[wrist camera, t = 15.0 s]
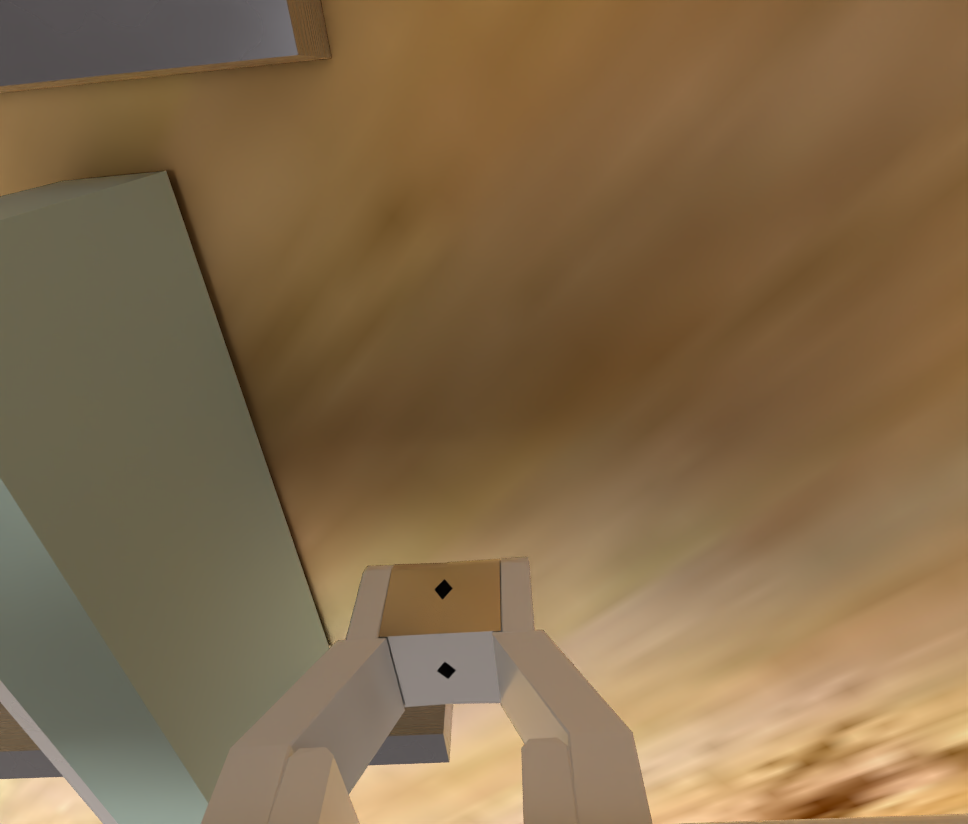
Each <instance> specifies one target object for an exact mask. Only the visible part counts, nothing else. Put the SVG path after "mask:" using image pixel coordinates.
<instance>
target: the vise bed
mask: <svg viewBox="0 0 968 824" xmlns="http://www.w3.org/2000/svg"><path fill="white" fill-rule="evenodd" d="M330 58H331V54H330V48H329V43H328V38H327V32H326V27H325V22H324V17H323V11H322V6H321V1H320V0H0V93H6V92H15V91H25V90H35V89H44V88H54V87H63V86H73V85H82V84H92V83H101V82H111V81H120V80H130V79H139V78H149V77H158V76H168V75H177V74H187V73H196V72H206V71H215V70H225V69H234V68H244V67H253V66H263V65H272V64H282V63H291V62H301V61H310V60H320V59H330ZM404 709H405V711H404V712H403V714H402V715H401V717H400V718H399V720H398V721H397V723H396V724H395V726H394V727H393V729H392V730H391V732H390V733H389V735H388V736H387V738H386V739H385V741H384V742H383V744H382V745H381V747H380V748H379V750H378V751H377V753H376V754H375V756H374V757H373V759H372V760H371V762H370V763H369V765H388V764H414V763H441V762H449V760H450V743H451V727H452V710H453V704H441V705H427V706H414V707H404ZM40 777H63V776H62V774H61V773H60V772H59V771H58V770H57V768H56V767H55V766H54V765H53V764H52V763H51V761H50V760H49V759H48V758H47V757H46V756H45V754H44V753H43V752H42V751H41V750H40V748H39V747H38V746H37V745H36V744H35V743H34V741H33V740H32V739H31V738H30V737H29V735H28V734H27V733H26V732H25V731H24V730H23V728H22V727H21V726H20V725H19V724H18V722H17V721H16V720H15V719H14V718H13V717H12V715H11V714H10V713H9V712H8V711H7V709H6V708H5V707H4V706H3V705H2V704H1V702H0V779H14V778H40Z"/></svg>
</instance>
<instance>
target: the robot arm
mask: <svg viewBox="0 0 968 824" xmlns="http://www.w3.org/2000/svg"><path fill="white" fill-rule="evenodd" d="M462 703H501V706H502V708H503V709H504V711H505V713H506V714H507V716H508V718H509V719H510V721H511V722H512V724H513V726H514V727H515V729H516V731H517V732H518V734H519V736H520V737H521V739H522V740H523V742H524V745H523V747H522V748H521V753H522V785H523V817H524V824H652V819H651V815H650V810H649V805H648V801H647V796H646V792H645V787H644V782H643V778H642V773H641V769H640V764H639V759H638V755H637V750H636V746H635V741H634V737H633V732H632V731H631V730H630V729H629V728H628V727H627V726H626V724H625V723H624V722H623V721H622V720H621V719H620V718H619V716H618V715H617V714H616V713H615V712H614V711H613V709H612V708H611V707H610V706H609V705H608V704H607V703H606V701H605V700H604V699H603V698H602V697H601V696H600V695H599V693H598V692H597V691H596V690H595V689H594V688H593V687H592V685H591V684H590V683H589V682H588V681H587V680H586V679H585V677H584V676H583V675H582V674H581V673H580V672H579V671H578V669H577V668H576V667H575V666H574V665H573V664H572V662H571V661H570V660H569V659H568V658H567V657H566V656H565V654H564V653H563V652H562V651H561V650H560V649H559V648H558V646H557V645H556V644H555V643H554V642H553V641H552V640H551V638H550V637H549V636H548V635H547V634H546V633H545V632H544V630H535V627H534V614H533V602H532V590H531V577H530V565H529V559H528V557H515V558H501V560H500V559H487V560H472V561H457V562H447V563H420V564H394V565H377V566H367V567H366V569H365V570H364V572H363V574H362V578H361V582H360V586H359V590H358V594H357V598H356V602H355V605H354V609H353V613H352V617H351V621H350V625H349V629H348V633H347V636H346V640H339V641H337V642H336V643H335V644H334V645H333V646H332V647H331V648H330V649H329V650H328V651H327V652H326V653H325V654H324V655H323V656H322V657H321V658H320V659H319V660H318V661H317V662H316V663H315V664H314V665H313V666H312V667H311V668H310V669H309V670H308V671H307V672H306V673H305V674H304V675H303V676H302V677H301V678H300V679H299V680H298V681H297V682H296V683H295V684H294V685H293V686H292V687H291V688H290V689H289V690H288V691H287V692H286V693H285V694H284V695H283V696H282V697H281V698H280V699H279V700H278V701H277V702H276V703H275V704H274V705H273V706H272V707H271V708H270V709H269V710H268V711H267V712H266V713H265V714H264V715H263V716H262V717H261V718H260V719H259V720H258V721H257V722H256V723H255V724H254V725H253V726H252V727H251V728H250V729H249V730H248V731H247V732H246V733H245V734H244V735H243V736H242V737H241V738H240V739H239V740H238V741H237V742H236V743H235V744H234V745H233V746H232V747H231V748H230V750H229V753H228V755H227V758H226V760H225V763H224V765H223V768H222V771H221V773H220V776H219V778H218V781H217V783H216V786H215V788H214V791H213V794H212V796H211V799H210V801H209V804H208V806H207V809H206V812H205V814H204V817H203V819H202V822H201V824H360V823H359V820H358V818H357V815H356V813H355V810H354V808H353V805H352V802H351V800H350V797H349V793H350V792H351V790H352V789H353V787H354V786H355V784H356V783H357V781H358V780H359V778H360V777H361V775H362V774H363V772H364V771H365V769H366V768H367V766H368V765H369V763H370V762H371V760H372V759H373V757H374V756H375V754H376V753H377V751H378V750H379V748H380V747H381V745H382V744H383V742H384V741H385V739H386V738H387V736H388V735H389V733H390V732H391V730H392V729H393V727H394V726H395V724H396V723H397V721H398V720H399V718H400V717H401V715H402V714H403V712H404V711H405V709H404V707H414V706H427V705H441V704H462ZM681 824H968V814H945V815H916V816H887V817H857V818H828V819H798V820H769V821H740V822H710V823H681Z"/></svg>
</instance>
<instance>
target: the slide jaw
mask: <svg viewBox="0 0 968 824" xmlns="http://www.w3.org/2000/svg"><path fill="white" fill-rule="evenodd" d="M329 649H330V648H329V645H328V642H327V639H326V637H325V634H324V631H323V628H322V625H321V622H320V619H319V616H318V613H317V610H316V607H315V604H314V601H313V599H312V596H311V593H310V590H309V587H308V584H307V581H306V578H305V575H304V572H303V569H302V566H301V563H300V561H299V558H298V555H297V552H296V549H295V546H294V543H293V540H292V537H291V534H290V531H289V528H288V525H287V523H286V520H285V517H284V514H283V511H282V508H281V505H280V502H279V499H278V496H277V493H276V490H275V487H274V485H273V482H272V479H271V476H270V473H269V470H268V467H267V464H266V461H265V458H264V455H263V452H262V449H261V447H260V444H259V441H258V438H257V435H256V432H255V429H254V426H253V423H252V420H251V417H250V414H249V412H248V409H247V406H246V403H245V400H244V397H243V394H242V391H241V388H240V385H239V382H238V379H237V376H236V374H235V371H234V368H233V365H232V362H231V359H230V356H229V353H228V350H227V347H226V344H225V341H224V338H223V336H222V333H221V330H220V327H219V324H218V321H217V318H216V315H215V312H214V309H213V306H212V303H211V300H210V298H209V295H208V292H207V289H206V286H205V283H204V280H203V277H202V274H201V271H200V268H199V265H198V262H197V260H196V257H195V254H194V251H193V248H192V245H191V242H190V239H189V236H188V233H187V230H186V227H185V224H184V222H183V219H182V216H181V213H180V210H179V207H178V204H177V201H176V198H175V195H174V192H173V189H172V186H171V184H170V181H169V178H168V175H167V172H166V171H160V172H150V173H139V174H129V175H118V176H108V177H97V178H87V179H77V180H66V181H60V182H56V183H52V184H48V185H44V186H40V187H36V188H32V189H28V190H24V191H20V192H16V193H12V194H8V195H4V196H0V702H1V704H2V705H3V706H4V707H5V708H6V709H7V711H8V712H9V713H10V714H11V715H12V717H13V718H14V719H15V720H16V721H17V722H18V724H19V725H20V726H21V727H22V728H23V730H24V731H25V732H26V733H27V734H28V735H29V737H30V738H31V739H32V740H33V741H34V743H35V744H36V745H37V746H38V747H39V748H40V750H41V751H42V752H43V753H44V754H45V756H46V757H47V758H48V759H49V760H50V761H51V763H52V764H53V765H54V766H55V767H56V768H57V770H58V771H59V772H60V773H61V774H62V776H63V777H64V778H65V779H66V780H67V781H68V783H69V784H70V785H71V786H72V787H73V789H74V790H75V791H76V792H77V793H78V794H79V796H80V797H81V798H82V799H83V800H84V802H85V803H86V804H87V805H88V806H89V807H90V809H91V810H92V811H93V812H94V813H95V815H96V816H97V817H98V818H99V819H100V820H101V822H102V823H103V824H201V822H202V819H203V817H204V814H205V812H206V809H207V806H208V804H209V801H210V799H211V796H212V794H213V791H214V788H215V786H216V783H217V781H218V778H219V776H220V773H221V771H222V768H223V765H224V763H225V760H226V758H227V755H228V753H229V750H230V748H231V747H232V746H233V745H234V744H235V743H236V742H237V741H238V740H239V739H240V738H241V737H242V736H243V735H244V734H245V733H246V732H247V731H248V730H249V729H250V728H251V727H252V726H253V725H254V724H255V723H256V722H257V721H258V720H259V719H260V718H261V717H262V716H263V715H264V714H265V713H266V712H267V711H268V710H269V709H270V708H271V707H272V706H273V705H274V704H275V703H276V702H277V701H278V700H279V699H280V698H281V697H282V696H283V695H284V694H285V693H286V692H287V691H288V690H289V689H290V688H291V687H292V686H293V685H294V684H295V683H296V682H297V681H298V680H299V679H300V678H301V677H302V676H303V675H304V674H305V673H306V672H307V671H308V670H309V669H310V668H311V667H312V666H313V665H314V664H315V663H316V662H317V661H318V660H319V659H320V658H321V657H322V656H323V655H324V654H325V653H326V652H327V651H328V650H329Z"/></svg>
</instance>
